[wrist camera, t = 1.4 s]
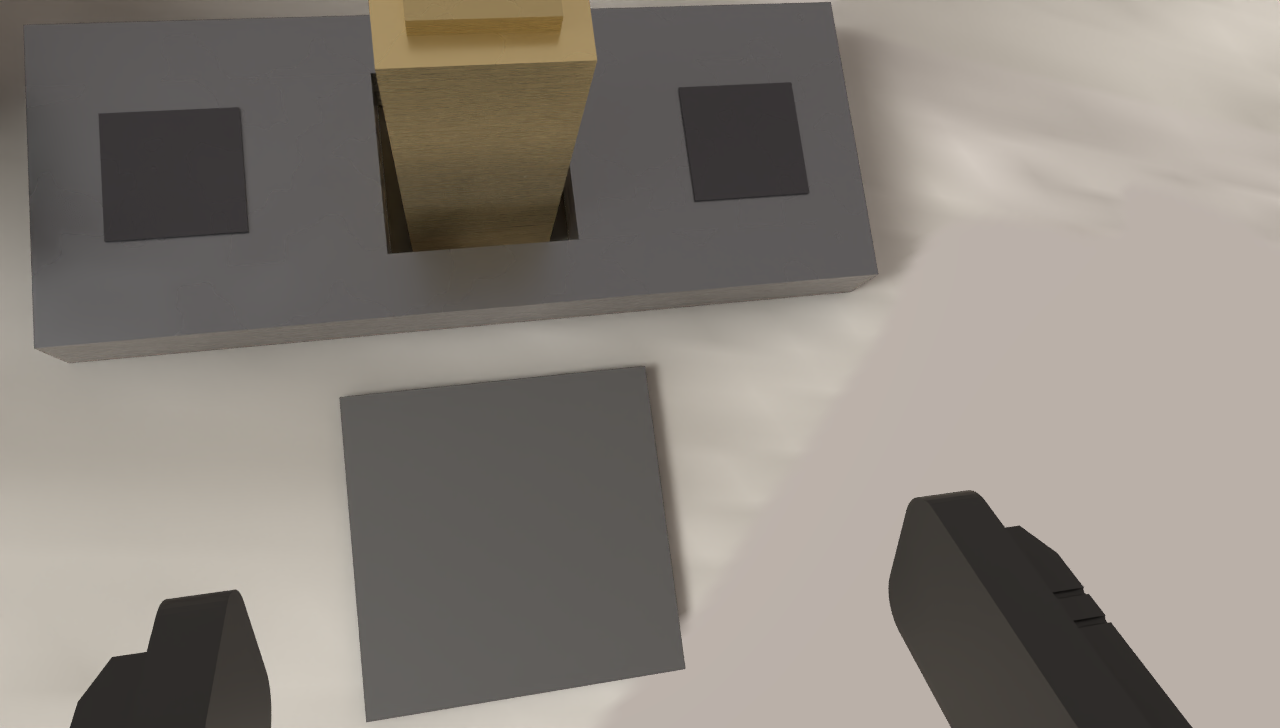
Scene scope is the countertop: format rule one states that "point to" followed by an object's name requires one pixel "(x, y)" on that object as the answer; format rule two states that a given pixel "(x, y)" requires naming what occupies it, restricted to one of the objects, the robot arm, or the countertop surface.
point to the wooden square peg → (482, 113)
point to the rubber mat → (507, 540)
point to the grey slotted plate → (356, 196)
